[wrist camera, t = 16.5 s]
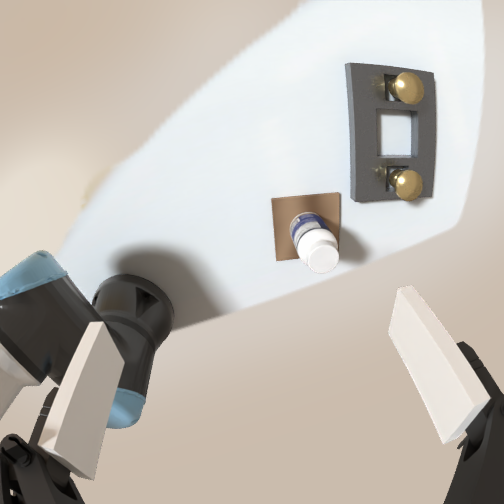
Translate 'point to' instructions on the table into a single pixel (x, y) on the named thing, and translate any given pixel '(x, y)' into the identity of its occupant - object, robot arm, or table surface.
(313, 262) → the pill bottle
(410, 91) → the plunger
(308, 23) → the table surface
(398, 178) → the plunger
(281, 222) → the coaster
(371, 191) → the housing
